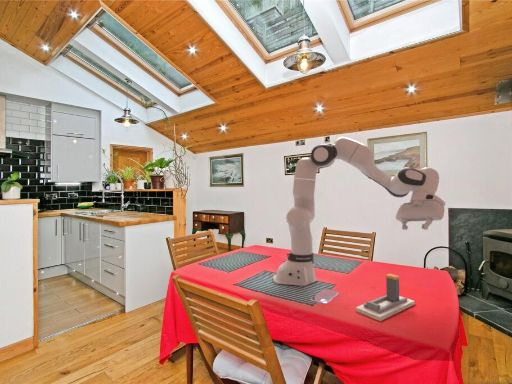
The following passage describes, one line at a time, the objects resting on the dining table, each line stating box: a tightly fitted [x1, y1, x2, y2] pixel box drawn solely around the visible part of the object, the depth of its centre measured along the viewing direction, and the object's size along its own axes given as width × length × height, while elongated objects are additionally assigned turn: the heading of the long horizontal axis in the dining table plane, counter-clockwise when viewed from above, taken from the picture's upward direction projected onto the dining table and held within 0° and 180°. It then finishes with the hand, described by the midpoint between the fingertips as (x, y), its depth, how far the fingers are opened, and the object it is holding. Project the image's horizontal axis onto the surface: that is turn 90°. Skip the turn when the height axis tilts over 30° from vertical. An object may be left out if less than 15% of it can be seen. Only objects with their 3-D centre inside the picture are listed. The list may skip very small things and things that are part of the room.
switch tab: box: [385, 273, 401, 302], centre depth 112 cm, size 3×4×10 cm, turn 33°
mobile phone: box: [310, 288, 340, 305], centre depth 122 cm, size 8×1×15 cm
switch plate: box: [355, 294, 416, 322], centre depth 109 cm, size 24×10×4 cm, turn 123°
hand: (414, 229), depth 118 cm, fingers open, 8 cm apart
